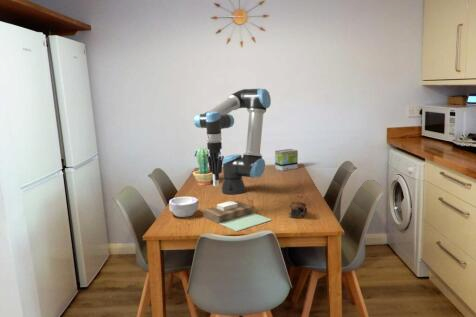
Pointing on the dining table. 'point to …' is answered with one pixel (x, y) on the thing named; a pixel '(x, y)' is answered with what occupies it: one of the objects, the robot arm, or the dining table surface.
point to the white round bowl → (183, 206)
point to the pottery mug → (298, 210)
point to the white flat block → (227, 205)
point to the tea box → (286, 159)
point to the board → (228, 212)
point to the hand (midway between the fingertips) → (216, 185)
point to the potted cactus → (202, 167)
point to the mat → (245, 222)
